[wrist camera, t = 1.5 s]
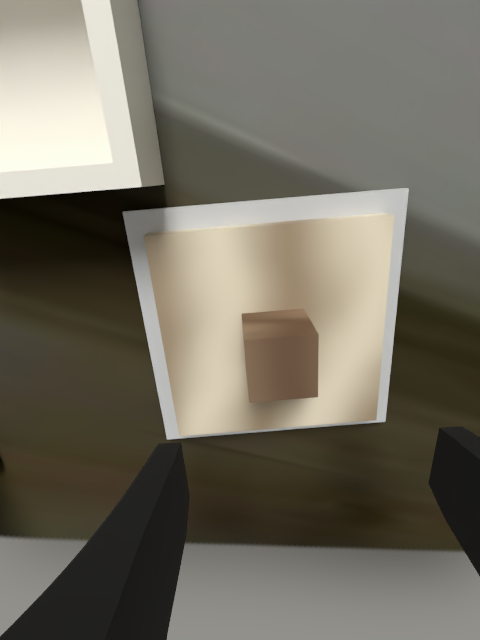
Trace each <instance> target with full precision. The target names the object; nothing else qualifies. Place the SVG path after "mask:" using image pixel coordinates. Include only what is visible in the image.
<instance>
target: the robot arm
mask: <svg viewBox="0 0 480 640" xmlns="http://www.w3.org/2000/svg"><path fill="white" fill-rule="evenodd" d="M429 485H430V487H431V489H432V492H433V494H434V496H435V498H436V501H437V503H438V505H439V507H440V509H441V511H442V513H443V515H444V517H445V519H446V521H447V523H448V525H449V526H450V528H451V530H452V531H453V533H454V535H455V536H456V538H457V540H458V541H459V543H460V545H461V546H462V548H463V550H464V551H465V553H466V555H467V556H468V557H469V559H470V561H471V563H472V564H473V566H474V568H475V569H476V571H477V572H478V574H479V576H480V437H478V436H477V435H475V434H473V433H472V432H470V431H468V430H467V429H465V428H463V427H446V428H439V433H438V438H437V443H436V448H435V453H434V458H433V463H432V468H431V474H430V479H429ZM188 509H189V490H188V484H187V477H186V471H185V465H184V459H183V453H182V446H181V443H165V444H159V445H158V446H157V447H156V448H155V450H154V451H153V453H152V454H151V456H150V457H149V459H148V460H147V462H146V463H145V465H144V467H143V468H142V470H141V471H140V473H139V474H138V475H137V477H136V478H135V480H134V481H133V483H132V484H131V486H130V487H129V488H128V490H127V491H126V493H125V494H124V495H123V497H122V498H121V499H120V501H119V502H118V504H117V505H116V506H115V508H114V509H113V510H112V512H111V513H110V514H109V516H108V517H107V518H106V520H105V521H104V522H103V523H102V525H101V526H100V527H99V528H98V530H97V531H96V532H95V533H94V535H93V536H92V537H91V538H90V540H89V541H88V542H87V543H86V545H85V546H84V547H83V549H82V550H81V551H80V552H79V553H78V554H77V555H76V557H75V558H74V559H73V560H72V561H71V562H70V564H69V565H68V566H67V567H66V568H65V569H64V570H63V572H62V573H61V574H60V575H59V576H58V577H57V578H56V579H55V580H54V582H53V583H52V584H51V585H50V586H49V587H48V588H47V589H46V590H45V591H44V592H43V594H42V595H41V596H40V597H39V598H38V599H37V600H36V601H35V602H34V603H33V604H32V605H31V606H30V607H29V608H28V609H27V610H26V611H25V612H24V613H23V614H22V615H21V616H20V617H19V618H18V619H17V620H16V621H15V623H14V624H13V625H12V626H11V627H9V628H8V630H7V631H5V632H4V633H3V634H2V635H1V636H0V640H166V639H167V633H168V627H169V622H170V617H171V612H172V606H173V601H174V596H175V591H176V585H177V580H178V575H179V570H180V565H181V560H182V554H183V549H184V544H185V538H186V531H187V520H188Z"/></svg>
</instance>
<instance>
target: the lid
mask: <svg viewBox="0 0 480 640" xmlns="http://www.w3.org/2000/svg"><path fill="white" fill-rule="evenodd" d="M393 225H394V215H391V214H387V213H380V214H368V215H356V216H344V217H332V218H320V219H308V220H296V221H284V222H272V223H260V224H248V225H236V226H224V227H212V228H200V229H187V230H175V231H163V232H151V233H147V234H146V235H144V236H143V237H144V242H145V248H146V253H147V259H148V264H149V270H150V276H151V281H152V287H153V292H154V298H155V304H156V309H157V315H158V320H159V326H160V331H161V337H162V343H163V348H164V354H165V359H166V365H167V370H168V376H169V382H170V387H171V393H172V398H173V404H174V409H175V415H176V421H177V426H178V432H179V436H190V435H202V434H214V433H226V432H239V431H251V430H263V429H275V428H287V427H300V426H312V425H324V424H336V423H348V422H361V421H373V420H376V419H377V407H378V396H379V385H380V373H381V362H382V350H383V339H384V328H385V316H386V305H387V294H388V282H389V271H390V260H391V248H392V237H393Z"/></svg>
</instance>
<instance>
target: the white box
mask: <svg viewBox="0 0 480 640" xmlns="http://www.w3.org/2000/svg"><path fill="white" fill-rule="evenodd" d="M156 185H165V183H164V176H163V169H162V162H161V156H160V149H159V142H158V135H157V129H156V122H155V115H154V108H153V102H152V95H151V88H150V81H149V75H148V68H147V61H146V54H145V48H144V41H143V34H142V27H141V21H140V14H139V7H138V1H137V0H0V199H3V198H15V197H27V196H39V195H52V194H64V193H76V192H88V191H100V190H112V189H124V188H136V187H147V186H156Z"/></svg>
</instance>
